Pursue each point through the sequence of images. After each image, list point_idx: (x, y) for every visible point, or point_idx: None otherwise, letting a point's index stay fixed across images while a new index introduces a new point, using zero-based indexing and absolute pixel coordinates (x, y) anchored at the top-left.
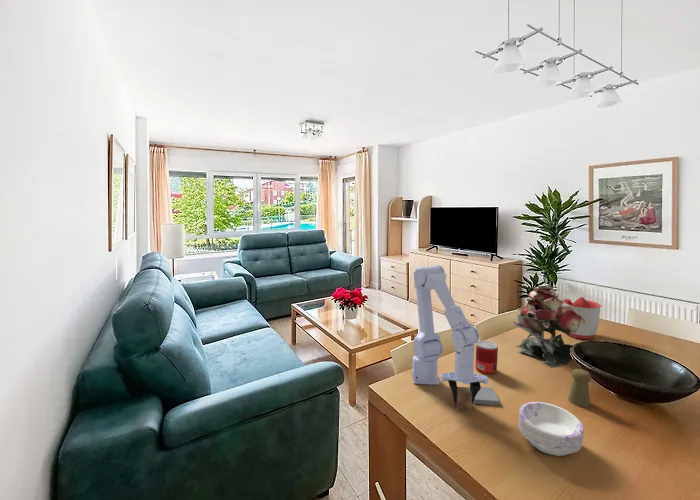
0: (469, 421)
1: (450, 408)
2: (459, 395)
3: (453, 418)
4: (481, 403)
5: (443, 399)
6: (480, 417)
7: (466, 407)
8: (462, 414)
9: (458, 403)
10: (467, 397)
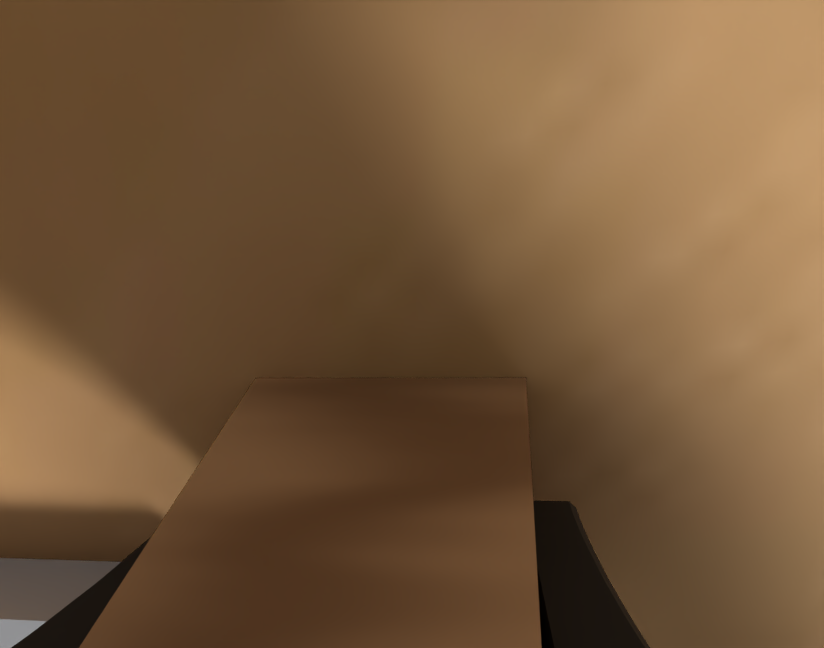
0: (318, 5)
1: (656, 404)
2: (477, 641)
3: (680, 56)
4: (89, 566)
5: (721, 632)
6: (95, 197)
7: (334, 413)
8: (441, 242)
9: (504, 461)
10: (244, 589)
